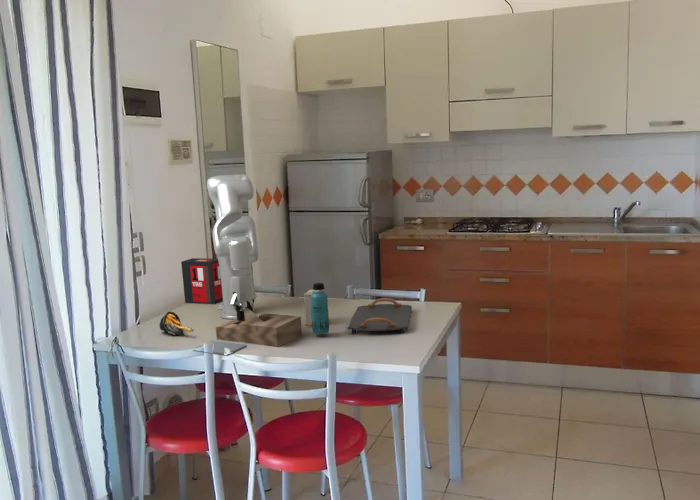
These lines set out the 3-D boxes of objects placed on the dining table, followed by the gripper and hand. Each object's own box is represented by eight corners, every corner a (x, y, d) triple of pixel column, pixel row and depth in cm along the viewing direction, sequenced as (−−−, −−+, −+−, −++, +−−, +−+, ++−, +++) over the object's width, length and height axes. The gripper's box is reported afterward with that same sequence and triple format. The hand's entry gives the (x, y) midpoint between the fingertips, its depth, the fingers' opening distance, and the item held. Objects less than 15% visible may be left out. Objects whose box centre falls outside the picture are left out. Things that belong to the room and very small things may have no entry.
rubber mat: (192, 350, 234) (192, 349, 234) (212, 342, 244) (212, 340, 244) (227, 355, 226) (226, 354, 226) (246, 346, 236) (246, 344, 236)
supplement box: (317, 326, 258) (315, 293, 256) (305, 326, 259) (303, 293, 257) (322, 320, 266) (320, 289, 264) (310, 320, 267) (308, 289, 265)
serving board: (358, 310, 280) (358, 296, 279) (413, 310, 277) (412, 295, 276) (346, 337, 242) (345, 321, 241) (408, 336, 239) (408, 320, 238)
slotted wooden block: (216, 339, 247) (215, 321, 246) (243, 327, 261) (241, 310, 260) (277, 346, 234) (276, 327, 232) (301, 334, 247) (300, 316, 246)
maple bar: (236, 317, 248) (240, 310, 247) (244, 314, 252) (247, 307, 251) (260, 339, 244) (264, 332, 243) (268, 335, 248) (271, 328, 247)
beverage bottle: (312, 334, 247) (308, 282, 244) (329, 332, 248) (326, 281, 245) (312, 338, 241) (309, 285, 238) (330, 337, 241) (327, 284, 238)
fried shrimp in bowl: (170, 316, 267) (202, 305, 258) (171, 343, 263) (203, 332, 255) (152, 313, 259) (184, 301, 251) (153, 340, 256) (186, 329, 247)
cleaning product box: (185, 303, 311) (181, 261, 308) (196, 298, 319) (192, 258, 316) (215, 304, 305) (211, 262, 302) (225, 299, 313) (221, 258, 310)
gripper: (247, 267, 255) (251, 312, 258) (219, 275, 241) (223, 323, 244) (263, 268, 252) (266, 314, 255) (235, 276, 237) (239, 325, 240)
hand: (245, 318), depth 249 cm, fingers closed on maple bar, 4 cm apart
